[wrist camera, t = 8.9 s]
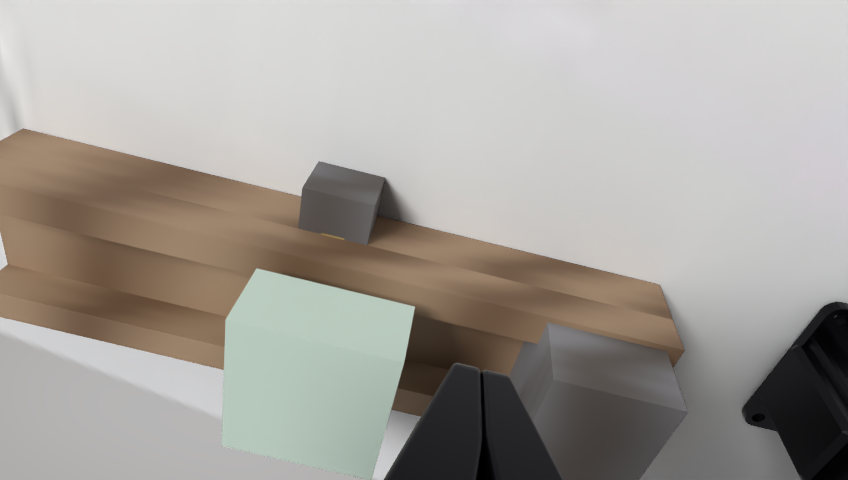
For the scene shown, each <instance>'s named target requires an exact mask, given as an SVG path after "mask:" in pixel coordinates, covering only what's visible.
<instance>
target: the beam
mask: <svg viewBox="0 0 848 480" xmlns="http://www.w3.org/2000/svg"><path fill="white" fill-rule="evenodd" d="M384 181H385V178H384V177H380V176H376V175H371V174H367V173H363V172H359V171H355V170H351V169H347V168H343V167H339V166H335V165H331V164H327V163H323V162H318V164H317V165H316V167H315V168H314V170H313V172H312V173H311V175H310V177H309V178H308V180H307V181H306V183H305V185H304V186H303V188H302V197H300V196H296V195H292V194H288V193H283V192H279V191H275V190H271V189H267V188H263V187H259V186H255V185H251V184H247V183H243V182H239V181H235V180H230V179H226V178H222V177H218V176H214V175H210V174H206V173H202V172H198V171H194V170H190V169H186V168H182V167H177V166H173V165H169V164H165V163H161V162H157V161H153V160H149V159H145V158H141V157H137V156H133V155H129V154H124V153H120V152H116V151H112V150H108V149H104V148H100V147H96V146H92V145H88V144H84V143H80V142H76V141H71V140H67V139H63V138H59V137H55V136H51V135H47V134H43V133H39V132H35V131H31V130H27V129H21V130H20V131H18V132H16V133H14V134H12V135H10V136H9V137H7V138H5V139H3V140H1V141H0V232H1V236H2V241H3V245H4V249H5V254H6V258H7V262H8V265H7V266H5V267H4V268H3V269H2V270H0V317H3V318H7V319H12V320H16V321H20V322H24V323H28V324H33V325H37V326H41V327H45V328H50V329H54V330H58V331H62V332H66V333H71V334H75V335H79V336H83V337H88V338H92V339H96V340H100V341H104V342H109V343H113V344H117V345H121V346H126V347H130V348H134V349H138V350H142V351H147V352H151V353H155V354H159V355H164V356H168V357H172V358H176V359H180V360H185V361H189V362H193V363H197V364H202V365H206V366H210V367H214V368H218V369H223V370H224V350H225V319H226V318H227V316H228V315H229V313H230V311H231V310H232V308H233V306H234V305H235V303H236V301H237V300H238V298H239V296H240V295H241V293H242V292H243V290H244V288H245V287H246V285H247V283H248V282H249V280H250V278H251V277H252V275H253V273H254V272H255V270H256V268H257V269H261V270H266V271H270V272H274V273H278V274H282V275H286V276H290V277H294V278H299V279H303V280H307V281H311V282H315V283H319V284H323V285H328V286H332V287H336V288H340V289H344V290H348V291H352V292H357V293H361V294H365V295H369V296H373V297H377V298H381V299H386V300H390V301H394V302H398V303H402V304H406V305H410V306H415V310H414V315H413V320H412V325H411V330H410V335H409V341H408V346H407V351H406V356H405V361H404V365H403V369H402V372H401V376H400V379H399V383H398V387H397V390H396V394H395V397H394V401H393V405H392V408H391V409H392V410H396V411H400V412H404V413H408V414H413V415H417V416H422V415H423V413H424V411H425V410H426V408H427V406H428V405H429V403H430V401H431V400H432V398H433V396H434V394H435V393H436V391H437V389H438V388H439V386H440V384H441V383H442V381H443V379H444V378H445V376H446V374H447V373H448V371H449V369H450V368H451V366H452V365H453V364H454V363H461V364H465V365H469V366H473V367H477V368H478V369H479V370H480V372H481V371H482V370H490V371H494V372H498V373H502V374H506V375H508V376H509V377H510V378H511V380H512V382H513V384H514V386H515V388H516V390H517V391H518V393H519V395H520V397H521V399H522V401H523V403H524V405H525V407H526V409H527V411H528V412H529V414H530V416H531V418H532V420H533V422H534V424H535V426H536V428H537V430H538V432H539V433H540V435H541V437H542V439H543V441H544V443H545V445H546V447H547V449H548V451H549V453H550V454H551V456H552V458H553V460H554V462H555V464H556V466H557V468H558V470H559V472H560V474H561V476H562V477H563V479H564V480H639V479H640V478H641V476H642V475H643V474H644V472H645V471H646V469H647V468H648V467H649V465H650V464H651V462H652V461H653V460H654V458H655V457H656V455H657V454H658V453H659V451H660V450H661V449H662V447H663V446H664V444H665V443H666V442H667V440H668V439H669V437H670V436H671V435H672V433H673V432H674V430H675V429H676V428H677V426H678V425H679V423H680V422H681V421H682V419H683V418H684V416H685V415H686V414H687V412H688V411H687V408H686V405H685V402H684V399H683V396H682V393H681V391H680V388H679V385H678V382H677V379H676V376H675V373H674V370H673V367H674V366H675V364H676V363H677V361H678V360H679V358H680V357H681V355H682V353H683V352H684V348H683V345H682V342H681V340H680V337H679V334H678V332H677V329H676V327H675V324H674V321H673V319H672V316H671V314H670V311H669V308H668V306H667V303H666V300H665V298H664V295H663V293H662V290H661V287H660V285H658V284H654V283H650V282H646V281H642V280H638V279H634V278H630V277H626V276H622V275H618V274H614V273H610V272H605V271H601V270H597V269H593V268H589V267H585V266H581V265H577V264H573V263H569V262H565V261H561V260H557V259H552V258H548V257H544V256H540V255H536V254H532V253H528V252H524V251H520V250H516V249H512V248H508V247H504V246H499V245H495V244H491V243H487V242H483V241H479V240H475V239H471V238H467V237H463V236H459V235H455V234H451V233H446V232H442V231H438V230H434V229H430V228H426V227H422V226H418V225H414V224H410V223H406V222H402V221H398V220H393V219H389V218H385V217H381V216H378V211H379V206H380V201H381V196H382V191H383V186H384Z"/></svg>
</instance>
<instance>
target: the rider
mask: <svg viewBox="0 0 848 480" xmlns="http://www.w3.org/2000/svg"><path fill="white" fill-rule="evenodd" d="M414 310H415V306H410V305H406V304H402V303H398V302H394V301H390V300H386V299H381V298H377V297H373V296H369V295H365V294H361V293H357V292H352V291H348V290H344V289H340V288H336V287H332V286H328V285H323V284H319V283H315V282H311V281H307V280H303V279H299V278H294V277H290V276H286V275H282V274H278V273H274V272H270V271H266V270H261V269H257V268H256V270H255V272H254V273H253V275H252V277H251V278H250V280H249V282H248V283H247V285H246V287H245V288H244V290H243V292H242V293H241V295H240V296H239V298H238V300H237V301H236V303H235V305H234V306H233V308H232V310H231V311H230V313H229V315H228V316H227V318H226V319H225V350H224V382H223V413H222V446H225V447H229V448H234V449H238V450H242V451H246V452H251V453H254V454H259V455H263V456H267V457H272V458H276V459H280V460H284V461H289V462H293V463H297V464H302V465H306V466H311V467H314V468H319V469H323V470H328V471H332V472H336V473H340V474H344V475H349V476H353V477H357V478H362V479H366V480H372V476H373V473H374V469H375V465H376V462H377V458H378V455H379V451H380V448H381V444H382V440H383V437H384V433H385V430H386V426H387V422H388V419H389V415H390V412H391V408H392V405H393V401H394V397H395V394H396V390H397V387H398V383H399V379H400V376H401V372H402V369H403V365H404V361H405V356H406V351H407V346H408V341H409V335H410V330H411V325H412V320H413V315H414Z"/></svg>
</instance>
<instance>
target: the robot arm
mask: <svg viewBox="0 0 848 480" xmlns="http://www.w3.org/2000/svg"><path fill="white" fill-rule="evenodd" d="M839 314H841V315H839ZM836 315H839V316H838V317H835V316H836ZM833 317H835V318H833ZM742 414H743V416H744V418H745V421H746V422H747V423H748V424H750V425H753V426H757V427H761V428H765V429H770V430H774V431H777V432H778V434H779V436H780V438H781V440H782V442H783V444H784V446H785V448H786V450H787V452H788V454H789V456H790V458H791V460H792V462H793V464H794V466H795V468H796V470H797V472H798V474H799V476H800V478H801V480H848V304H847V303H843V302H834V303H830V304H828V305H826V306H824V307H823V308H822V309H821V310H820V311H819V313H818V314H817V315H816V316H815V318H814V319H813V320H812V321H811V323H810V324H809V325H808V326H807V328H806V329H805V330H804V332H803V333H802V334H801V335H800V337H799V338H798V339H797V340H796V342H795V343H794V344H793V345H792V347H791V348H790V349H789V350H788V352H787V353H786V354H785V355H784V357H783V358H782V359H781V360H780V362H779V363H778V364H777V366H776V367H775V368H774V369H773V371H772V372H771V373H770V374H769V376H768V377H767V378H766V379H765V381H764V382H763V383H762V384H761V386H760V387H759V388H758V389H757V391H756V392H755V393H754V394H753V396H752V397H751V398H750V400H749V401H748V402H747V403H746V405H745V406H744V407H743V409H742ZM384 480H564V479H563V477H562V476H561V474H560V472H559V470H558V468H557V466H556V464H555V462H554V460H553V458H552V456H551V454H550V453H549V451H548V449H547V447H546V445H545V443H544V441H543V439H542V437H541V435H540V433H539V432H538V430H537V428H536V426H535V424H534V422H533V420H532V418H531V416H530V414H529V412H528V411H527V409H526V407H525V405H524V403H523V401H522V399H521V397H520V395H519V393H518V391H517V390H516V388H515V386H514V384H513V382H512V380H511V378H510V377H509V376H508V375H506V374H502V373H498V372H494V371H490V370H482V371H481V372H480V370H479V369H478V368H477V367H473V366H469V365H465V364H461V363H454V364H453V365H452V366H451V368H450V369H449V371H448V373H447V374H446V376H445V378H444V379H443V381H442V383H441V384H440V386H439V388H438V389H437V391H436V393H435V394H434V396H433V398H432V400H431V401H430V403H429V405H428V406H427V408H426V410H425V411H424V413H423V415H422V416H421V418H420V420H419V421H418V423H417V425H416V426H415V428H414V430H413V431H412V433H411V435H410V436H409V438H408V440H407V441H406V443H405V445H404V446H403V448H402V450H401V452H400V453H399V455H398V457H397V458H396V460H395V462H394V463H393V465H392V467H391V468H390V470H389V472H388V473H387V475H386V477H385V478H384Z"/></svg>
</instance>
